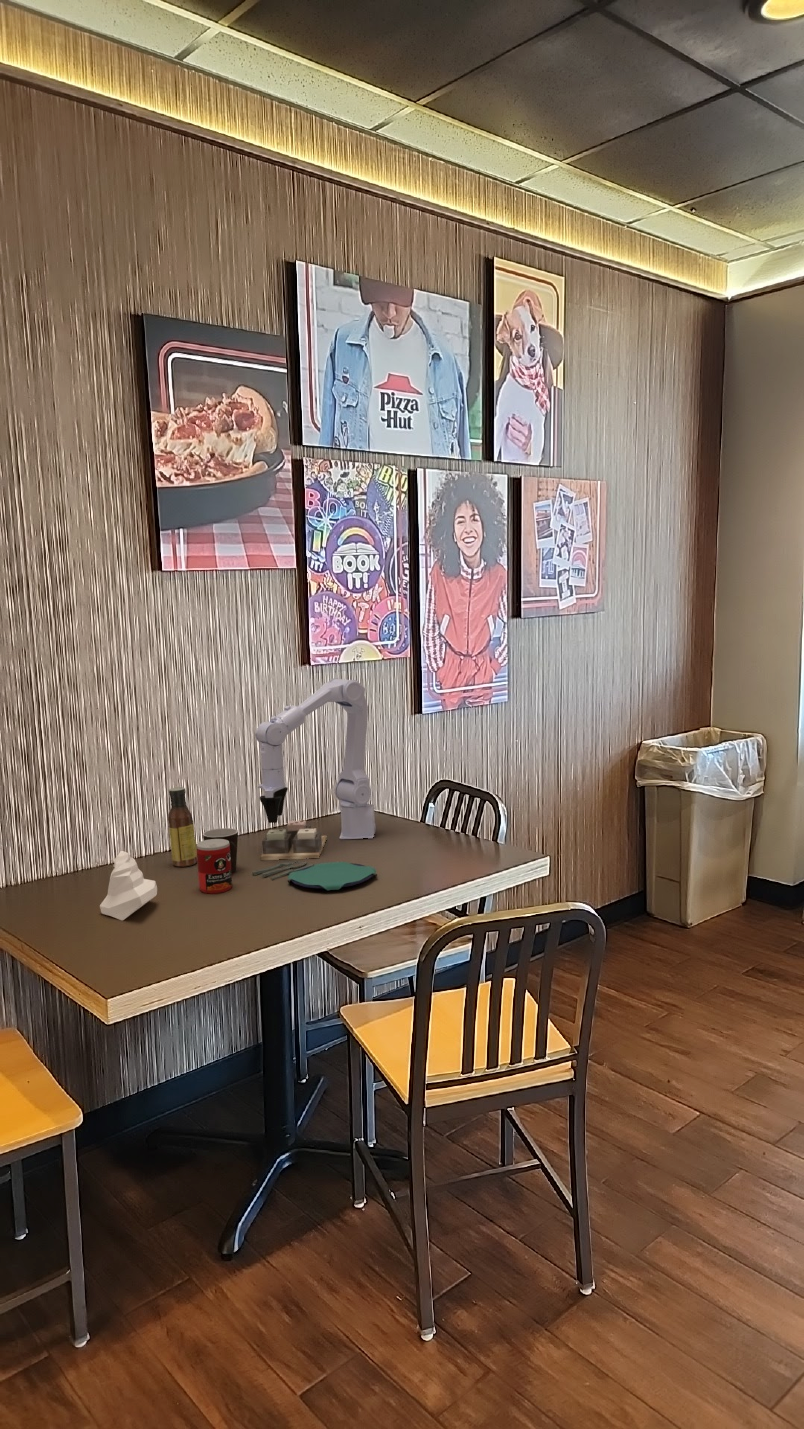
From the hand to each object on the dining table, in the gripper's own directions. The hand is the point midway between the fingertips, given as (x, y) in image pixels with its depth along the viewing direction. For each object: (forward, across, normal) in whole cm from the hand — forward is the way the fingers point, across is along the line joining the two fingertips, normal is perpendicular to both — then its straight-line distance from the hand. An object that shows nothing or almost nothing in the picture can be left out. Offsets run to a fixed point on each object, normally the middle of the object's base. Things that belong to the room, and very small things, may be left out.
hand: (275, 818), depth 251 cm
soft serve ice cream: (+10, +42, -26) cm, 50 cm away
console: (+9, -4, +4) cm, 11 cm away
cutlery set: (+10, +21, +13) cm, 27 cm away
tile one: (+6, 0, +8) cm, 10 cm away
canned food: (+10, +28, -10) cm, 31 cm away
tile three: (+6, -9, +4) cm, 12 cm away
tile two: (+6, 0, 0) cm, 6 cm away
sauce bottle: (+10, +7, -23) cm, 26 cm away
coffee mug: (+10, +16, -11) cm, 22 cm away
